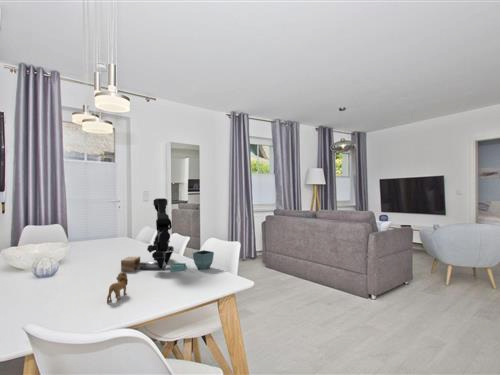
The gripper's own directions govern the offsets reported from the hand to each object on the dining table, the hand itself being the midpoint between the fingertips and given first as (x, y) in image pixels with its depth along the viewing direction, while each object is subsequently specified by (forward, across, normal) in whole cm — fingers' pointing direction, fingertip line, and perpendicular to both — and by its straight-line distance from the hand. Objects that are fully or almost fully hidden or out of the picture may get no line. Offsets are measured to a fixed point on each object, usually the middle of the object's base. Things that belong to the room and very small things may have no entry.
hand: (163, 266), depth 164 cm
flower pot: (+1, -2, +22) cm, 23 cm away
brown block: (+1, 0, -19) cm, 19 cm away
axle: (+1, 0, -6) cm, 6 cm away
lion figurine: (+2, +44, -4) cm, 44 cm away
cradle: (+1, 0, +8) cm, 9 cm away
